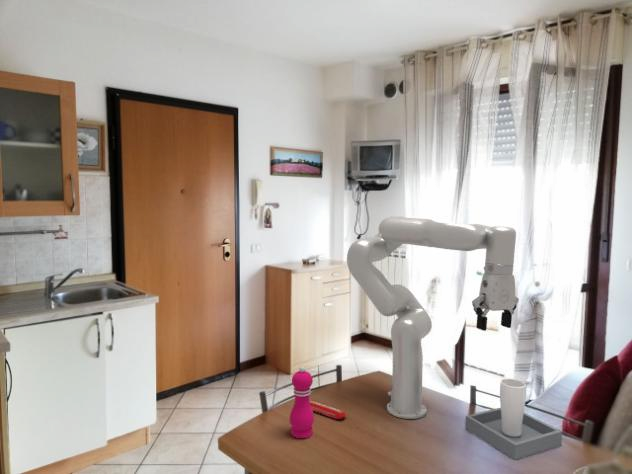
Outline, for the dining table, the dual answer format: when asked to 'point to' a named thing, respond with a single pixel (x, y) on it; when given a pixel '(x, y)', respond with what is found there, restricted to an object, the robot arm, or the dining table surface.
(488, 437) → the tray
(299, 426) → the pepper mill
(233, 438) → the dining table surface
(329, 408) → the candy bar
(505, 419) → the drinking glass
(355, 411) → the dining table surface
